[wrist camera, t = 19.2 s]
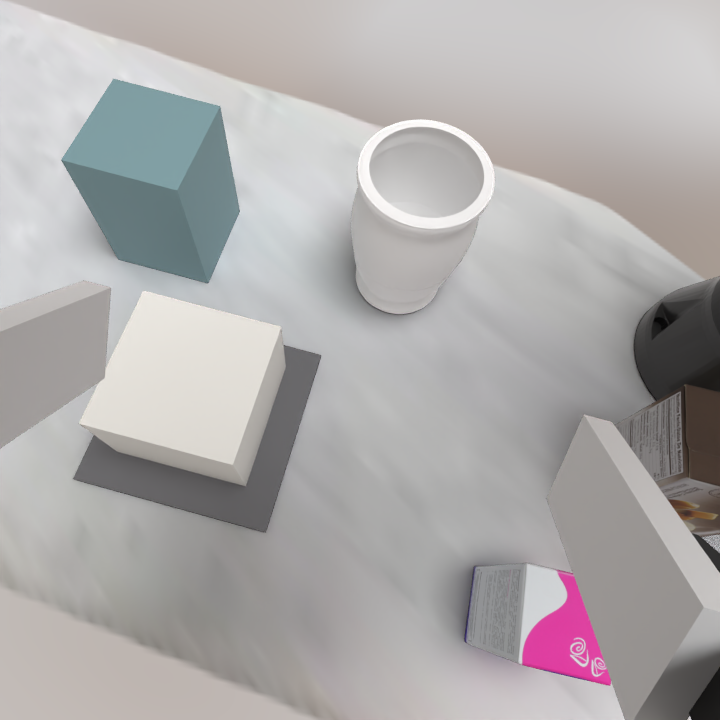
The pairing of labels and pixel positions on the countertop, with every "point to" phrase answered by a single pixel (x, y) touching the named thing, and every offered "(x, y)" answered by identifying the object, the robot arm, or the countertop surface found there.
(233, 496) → the mat
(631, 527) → the robot arm
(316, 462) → the countertop surface
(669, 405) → the coffee box
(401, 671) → the countertop surface
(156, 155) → the base
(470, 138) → the jar
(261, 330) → the lid
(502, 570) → the supplement box
